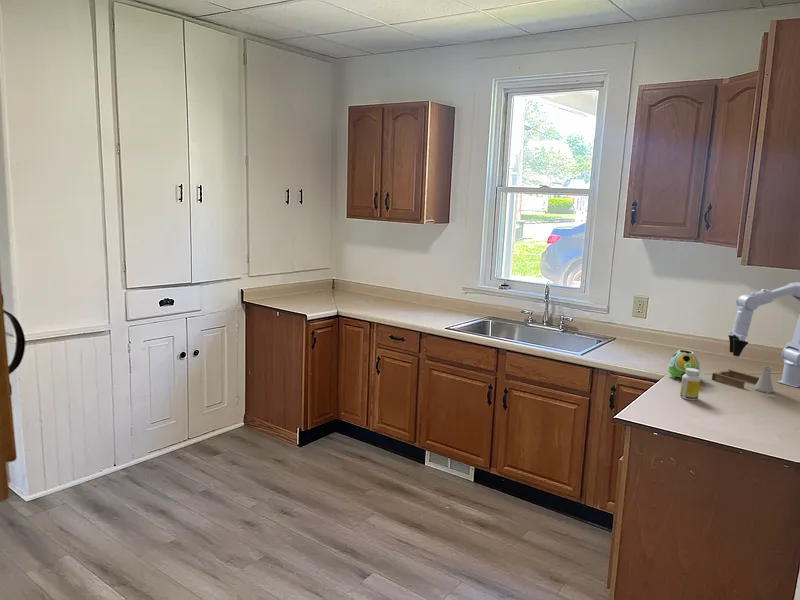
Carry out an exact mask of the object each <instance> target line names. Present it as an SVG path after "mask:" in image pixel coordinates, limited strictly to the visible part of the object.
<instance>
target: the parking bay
mask: <svg viewBox="0 0 800 600" xmlns="http://www.w3.org/2000/svg"><path fill="white" fill-rule="evenodd" d="M759 379H760V377H759V376H754V375H752V374H747V373H744V372H741V371H740V372H739V371H737V370H733V369H730V368H729V369H728V368H727V369H725V370H721V371H717V372H713V373H712V375H711V381H714V382H718V383H722V384H725V385H729V386H732V387H736V388H738V389H742V390H743V389H745V385H746V384H745V383H749V384H752V385H754V386H755V385H756V384H757V382H758V380H759Z"/></svg>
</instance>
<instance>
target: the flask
mask: <svg viewBox="0 0 800 600" xmlns="http://www.w3.org/2000/svg"><path fill="white" fill-rule="evenodd" d="M762 369H763V370H762V373H761V375H760V377H759V380H758V382H757V384H756V385H755V384H754V387H753V389H754V390H755V391H757V392H760V393H761V392H762V393H768V394H772V393H774V392H775V390H774V386H773V382H772V378H771V372H772V371H771V370H773V368H772V367H771V366H766V365H764V366H762Z"/></svg>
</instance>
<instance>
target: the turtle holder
mask: <svg viewBox="0 0 800 600" xmlns="http://www.w3.org/2000/svg"><path fill="white" fill-rule="evenodd" d="M686 368H694V369H697V370H699V371H701V367H700V361H699V359H698V358H697V356H696V355H695V353H694V352H693V351H692V350H688V349H678V351H676V352H675V353H674V354H673V355H672V356H671V358H670V360H669V363H668V369H667V371H668V373H669V374H670V375H669V377H668V378H669V379H672V380H675V378H681V379H682V376H683V375H684V374H686V372H685V371H686ZM699 375H700V373H699V374H698V376H699ZM699 377H700V376H699Z"/></svg>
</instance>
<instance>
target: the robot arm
mask: <svg viewBox="0 0 800 600" xmlns="http://www.w3.org/2000/svg"><path fill="white" fill-rule="evenodd" d="M786 296H787V297H788V296H792V297H793V298H795V299H796V300H798V301H799V303H800V281H794V282H789V283H788V284H787V285H784V286H781V287H778V288H776V289H773V290H770V289H765V288H762V289H760V291H755V292H750V294H745V293H744V294H741V295H740V296H739V297H738V298H737V299H736V302H735V304H736V307H737V308H736V310H737V311H736V315H735V318H734V322H733V323H734V324H733V326H732V329H731V330H732V331H731V330H728V333H729V334H728V338H729V339H728V341H729V352H730V353H732V355H733V357H740V355H741V354H742V352H743V350H744V348H745V347H746V346H748V344H749V342H748V341H746V339H747V337H749V336H748V334H749V330H750V326H751V321H752V317H753V314H754V311H756V310H757V309H758V308H759V307H760V306H764V305H767V304H771V303H772V302H773V301H774V299H777V298H782V297H783V298H784V297H786ZM796 322H797V323H796V326H795V329H794V332H793V335H792V338H791V341H789V342H787V343H786V344H785V347H784V348H783V349H782V351H781V359H783V363H784V364H783V369H782V375H781V379H780V380H777V381H776V382H777V383H779V384H783V385H786V386H790V387H794V388H799V387H800V314H799V316H798V319H797V321H796ZM731 334H732V335H731Z"/></svg>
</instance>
